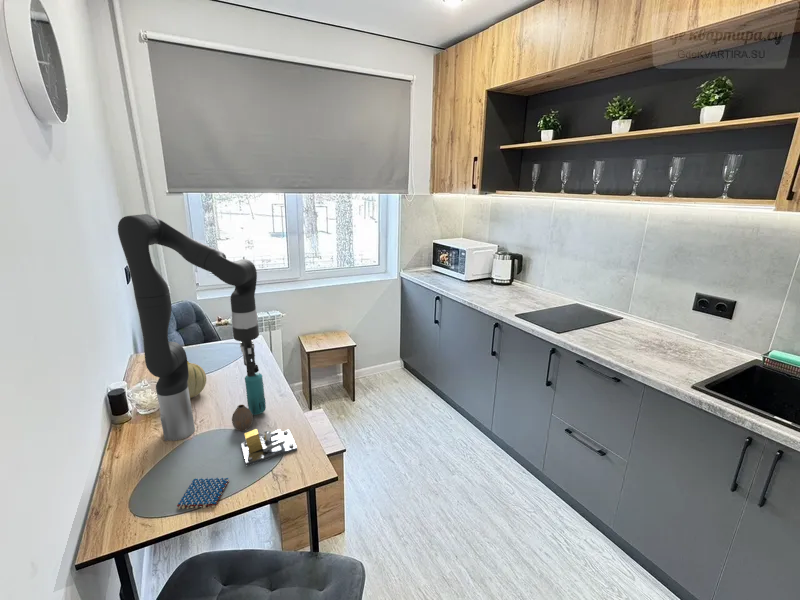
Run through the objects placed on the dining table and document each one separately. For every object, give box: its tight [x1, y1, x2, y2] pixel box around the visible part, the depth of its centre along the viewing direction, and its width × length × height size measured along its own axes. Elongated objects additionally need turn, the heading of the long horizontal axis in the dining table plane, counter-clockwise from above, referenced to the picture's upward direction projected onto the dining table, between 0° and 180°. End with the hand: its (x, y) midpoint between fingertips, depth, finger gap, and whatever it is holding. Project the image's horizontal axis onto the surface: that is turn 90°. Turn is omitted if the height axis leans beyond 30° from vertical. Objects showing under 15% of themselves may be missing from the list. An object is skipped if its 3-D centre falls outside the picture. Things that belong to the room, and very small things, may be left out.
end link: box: [244, 428, 285, 454], centre depth 126 cm, size 11×7×6 cm, turn 119°
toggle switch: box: [240, 429, 298, 466], centre depth 127 cm, size 16×11×6 cm
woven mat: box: [176, 476, 230, 510], centre depth 108 cm, size 10×11×2 cm
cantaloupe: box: [187, 360, 207, 399], centre depth 156 cm, size 15×15×15 cm
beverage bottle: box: [244, 363, 267, 415], centre depth 144 cm, size 6×7×20 cm
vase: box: [231, 404, 254, 432], centre depth 137 cm, size 7×7×9 cm
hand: (249, 370), depth 125 cm, fingers open, 8 cm apart
